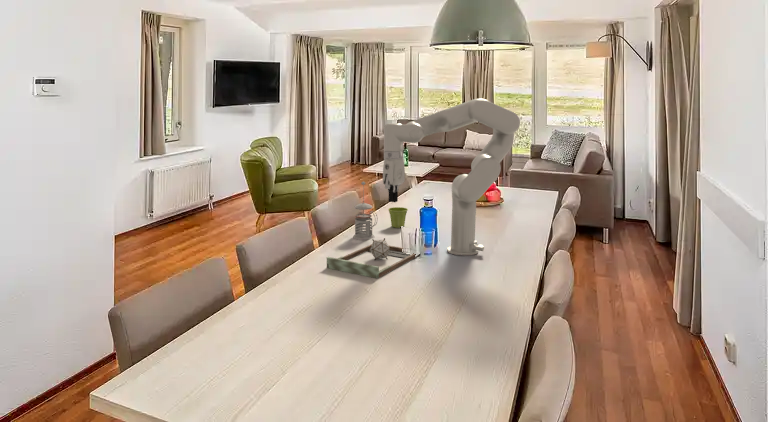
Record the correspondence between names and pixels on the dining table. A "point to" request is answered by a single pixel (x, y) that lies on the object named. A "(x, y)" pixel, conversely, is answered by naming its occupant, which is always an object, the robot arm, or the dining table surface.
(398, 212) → the plant pot
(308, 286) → the dining table surface
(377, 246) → the game die
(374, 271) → the shallow open box
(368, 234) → the french press
